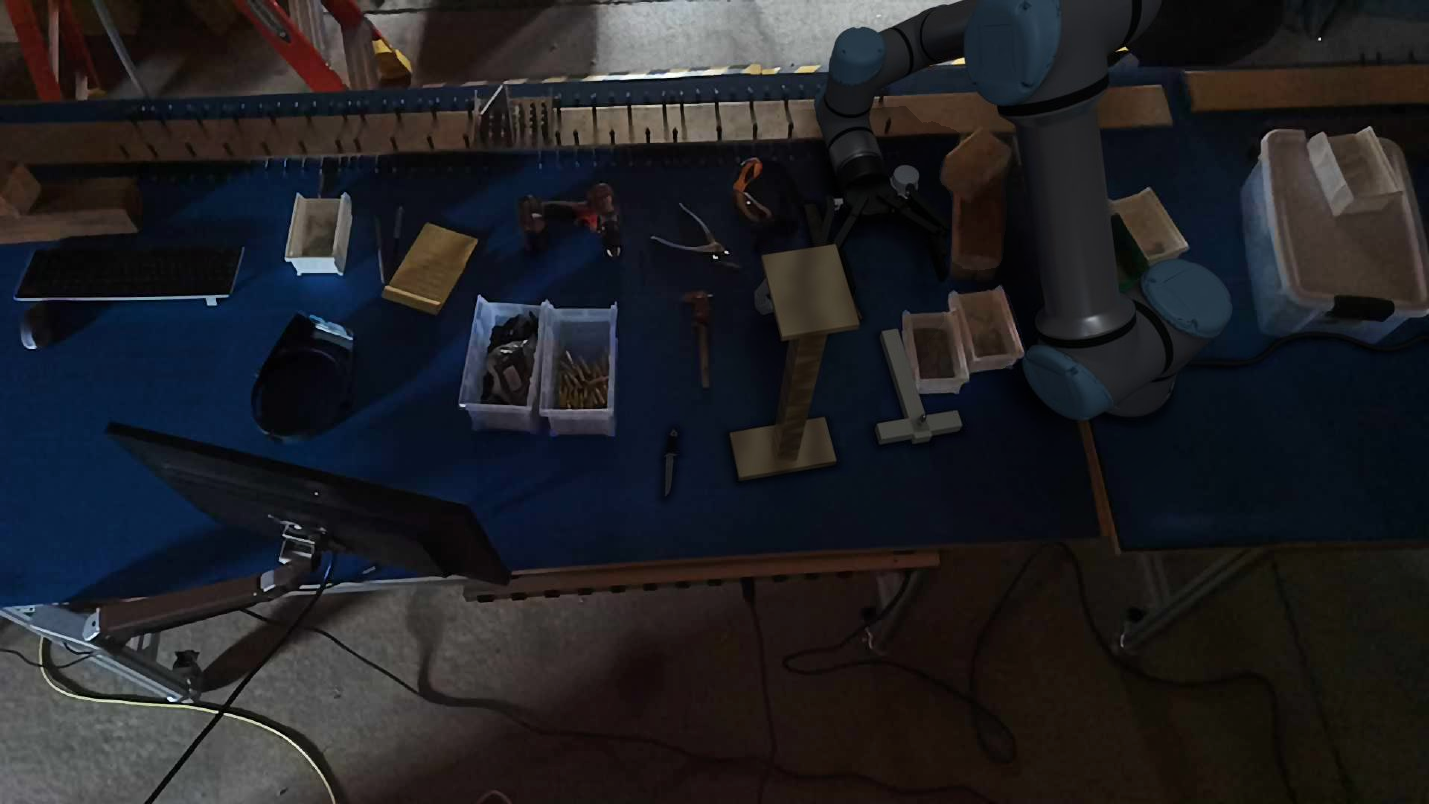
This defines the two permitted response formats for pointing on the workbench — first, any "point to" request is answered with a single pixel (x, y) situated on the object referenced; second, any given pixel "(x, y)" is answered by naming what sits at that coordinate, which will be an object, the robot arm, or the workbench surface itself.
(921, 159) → the workbench surface
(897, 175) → the supplement bottle
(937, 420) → the grey t-shaped block
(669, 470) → the knife
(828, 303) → the stand
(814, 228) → the hand saw
